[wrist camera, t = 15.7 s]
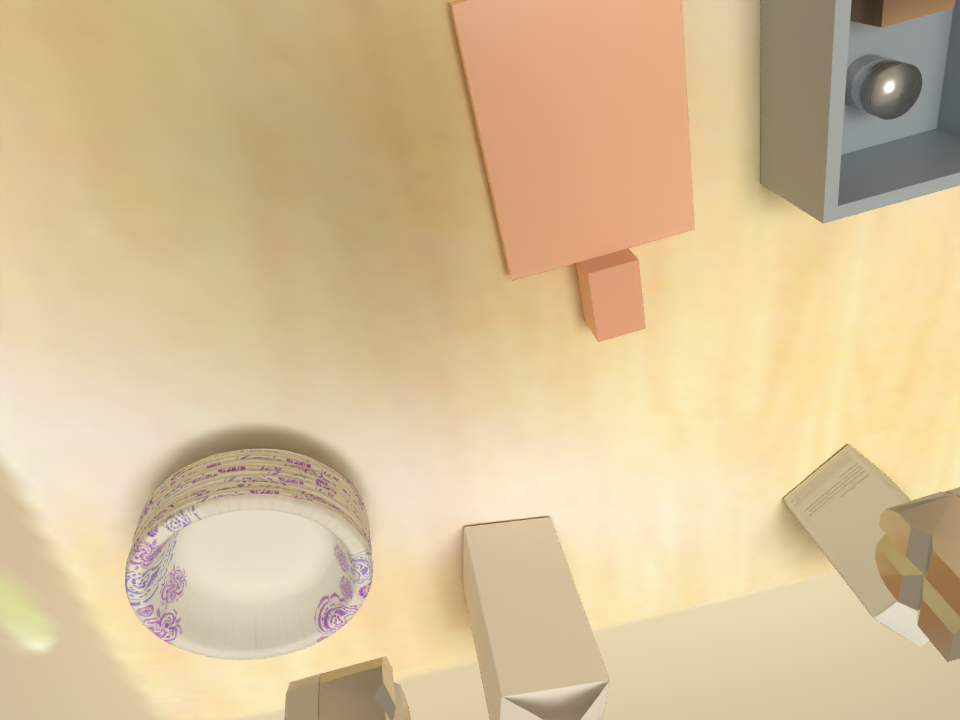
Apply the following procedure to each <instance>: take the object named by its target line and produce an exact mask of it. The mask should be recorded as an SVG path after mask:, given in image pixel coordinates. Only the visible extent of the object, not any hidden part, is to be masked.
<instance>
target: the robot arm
mask: <svg viewBox="0 0 960 720" xmlns="http://www.w3.org/2000/svg"><path fill="white" fill-rule="evenodd" d="M879 527H880V528H881V529H882V530H883V531H884V532H885V533H886V534H885V535H884V536H883V537H882V539H881V540H880V541H879V542H878V543H877V545H876V554H875V561H876V564H877V567H878V571H879V574H880V576H881V578H882V580H883V582H884V583H885V585H886V587H887V589H888V590H889V591H890V592H891V594H892V595H893V596H894V597H895V599H896V600H897V601H898V602H899V603H901V604H904V605H906V606H908V607H910V608H912V609H914V610H916V611H917V626H918V627H919V628H920V629H921V630H922V632H923V633H924V634H925V635H926V636H927V638H928V639H929V640H930V641H931V642H932V644H933V645H934V646H935V647H936V648H937V650H938V651H939V652H940V653H941V654H942V656H943V657H944V658H945V659H946V661H947V662H948V661H952V660H956V659H960V487H959V488H955V489H952V490H949V491H946V492H939V493H935V494H932V495H929V496H926V497H923V498H919V499H916V500H913V501H910V502H906V503H903V504H900V505H897V506H894V507H890V508H887V509H885V510H884V511H883V513H882V514H881V515H880V521H879ZM285 720H411V717H410V712H409V707H408V704H407V701H406V698H405V695H404V692H403V691H402V688H401V686H400V685H399V684H397V683H395V682H393V671H392V667H391V665H390V663H389V661H388V659H387V657H386V656H385V657H381V658H377V659H374V660H370V661H366V662H363V663H359V664H355V665H351V666H348V667H344V668H340V669H337V670H333V671H329V672H326V673H321V674H318V675H314V676H311V677H307V678H304V679H300V680H297V681H293V682H290V684H289V687H288V690H287V693H286V703H285Z"/></svg>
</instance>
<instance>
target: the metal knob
mask: <svg viewBox="0 0 960 720" xmlns="http://www.w3.org/2000/svg"><path fill="white" fill-rule="evenodd" d="M921 89H922V75H921V72H920V71H919V69H918V68H917V67H916V66H914V65H912V64H908V63H905V62H901V61H897V60H894V59H890V58H886V57H882V56H879V55H875V54H868V55H864V56H862V57H860V58H858V59H856V60H855V61H854V62H853V63H852V64H851V65H850V66H849V67H848V68H847V75H846V90H845V104H846V105H848V106H850V107H853V108H855V109H858V110H860V111H863V112H866V113H868V114H871V115H873V116H876V117H879V118H881V119H885V120H891V119H895V118H898V117H900V116H902V115H903V114H905V113H906V112H907V111H908V110H909V109H910V108H911V107H912V106H913V105H914V104H915V102H916V101H917V99H918V97H919V95H920V92H921Z"/></svg>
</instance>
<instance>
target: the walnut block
mask: <svg viewBox="0 0 960 720" xmlns="http://www.w3.org/2000/svg"><path fill="white" fill-rule="evenodd" d="M954 7H955V0H851V15H850V21H853V22H858V23H862V24H867V25H871V26H876V27H881V28H882V27H885V26H889V25H893V24H897V23H900V22H904V21H908V20H911V19H915V18H919V17H922V16H926V15H930V14H933V13H937V12H941V11H945V10H948V9H952V8H954Z"/></svg>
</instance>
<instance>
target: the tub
mask: <svg viewBox="0 0 960 720" xmlns="http://www.w3.org/2000/svg"><path fill="white" fill-rule="evenodd" d="M850 15H851V0H761V163H760V183H761V184H762V185H764V186H765V187H767V188H769V189H770V190H772V191H773V192H775V193H776V194H778V195H780V196H781V197H783V198H784V199H786V200H787V201H789V202H790V203H792V204H794V205H795V206H797V207H798V208H800V209H801V210H803V211H805V212H806V213H808V214H809V215H811V216H812V217H814V218H816V219H817V220H819V221H820V222H822V223H826V222H830V221H834V220H837V219H841V218H844V217H848V216H851V215H855V214H859V213H862V212H866V211H869V210H873V209H876V208H880V207H884V206H887V205H891V204H894V203H898V202H902V201H905V200H909V199H912V198H916V197H919V196H923V195H927V194H930V193H934V192H937V191H941V190H944V189H948V188H952V187H955V186H959V185H960V0H955V7H954V8H952V9H948V10H945V11H941V12H937V13H933V14H930V15H926V16H922V17H919V18H915V19H911V20H908V21H904V22H900V23H897V24H893V25H889V26H885V27H882V28H881V27H876V26H871V25H867V24H862V23H858V22H853V21H850ZM868 54H875V55H879V56H882V57H886V58H890V59H894V60H897V61H901V62H905V63H908V64H912V65H914V66H916V67H917V68H918V69H919V71H920V72H921V75H922V89H921V92H920V95H919V97H918V99H917V101H916V102H915V104H914V105H913V106H912V107H911V108H910V109H909V110H908V111H907V112H906V113H905V114H903V115H902V116H900V117H898V118H895V119H891V120H885V119H881V118H879V117H876V116H873V115H871V114H868V113H866V112H863V111H860V110H858V109H855V108H853V107H850V106H848V105H846V104H845V90H846V75H847V68H848V67H849V66H850V65H851V64H852V63H853V62H854V61H855V60H856V59H858V58H860V57H862V56H864V55H868Z"/></svg>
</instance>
